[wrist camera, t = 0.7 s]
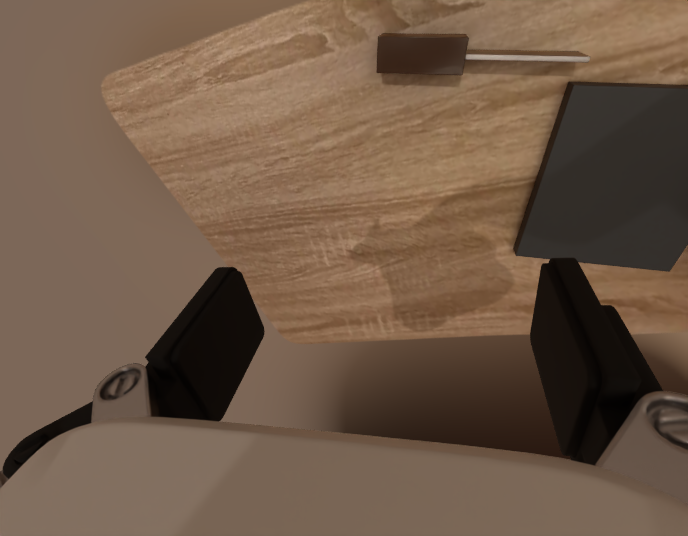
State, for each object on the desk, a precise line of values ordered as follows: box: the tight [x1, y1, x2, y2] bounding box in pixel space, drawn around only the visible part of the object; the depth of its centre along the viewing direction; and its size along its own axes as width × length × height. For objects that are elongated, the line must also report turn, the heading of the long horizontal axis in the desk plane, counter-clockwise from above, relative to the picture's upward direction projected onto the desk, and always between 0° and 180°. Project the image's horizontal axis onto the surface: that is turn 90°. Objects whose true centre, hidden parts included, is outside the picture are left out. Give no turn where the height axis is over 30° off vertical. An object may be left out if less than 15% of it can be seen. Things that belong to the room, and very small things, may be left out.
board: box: [514, 82, 688, 271], centre depth 34 cm, size 17×15×2 cm
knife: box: [377, 33, 590, 75], centre depth 30 cm, size 16×3×3 cm, turn 90°
